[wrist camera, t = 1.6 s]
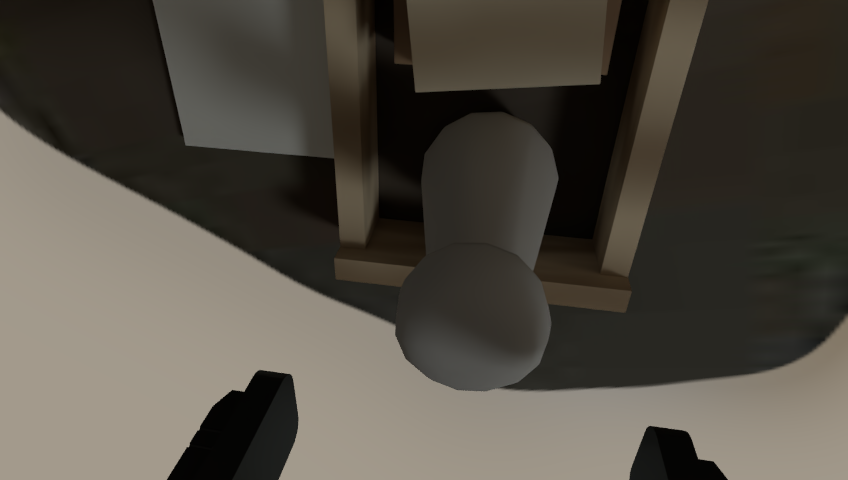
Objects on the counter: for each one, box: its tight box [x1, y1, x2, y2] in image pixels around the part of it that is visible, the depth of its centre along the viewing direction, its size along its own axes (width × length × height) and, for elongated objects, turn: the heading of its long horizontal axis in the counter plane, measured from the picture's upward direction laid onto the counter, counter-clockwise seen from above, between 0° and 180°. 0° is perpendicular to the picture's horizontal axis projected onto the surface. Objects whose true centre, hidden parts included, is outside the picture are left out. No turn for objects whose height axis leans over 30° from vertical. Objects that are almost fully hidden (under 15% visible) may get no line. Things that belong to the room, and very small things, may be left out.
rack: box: [323, 0, 708, 313], centre depth 22 cm, size 15×13×4 cm
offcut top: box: [407, 0, 607, 92], centre depth 18 cm, size 4×6×3 cm, turn 95°
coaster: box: [153, 0, 334, 158], centre depth 24 cm, size 8×8×1 cm
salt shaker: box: [395, 112, 559, 391], centre depth 19 cm, size 6×6×13 cm
